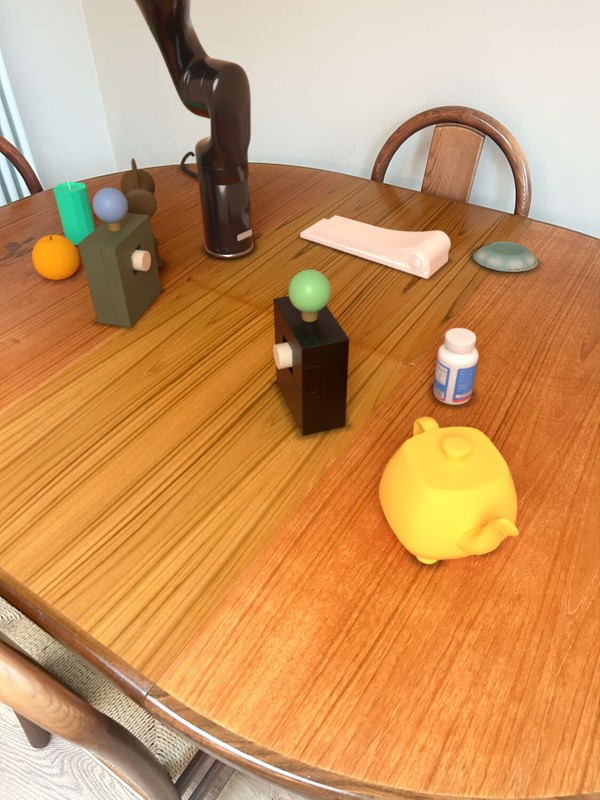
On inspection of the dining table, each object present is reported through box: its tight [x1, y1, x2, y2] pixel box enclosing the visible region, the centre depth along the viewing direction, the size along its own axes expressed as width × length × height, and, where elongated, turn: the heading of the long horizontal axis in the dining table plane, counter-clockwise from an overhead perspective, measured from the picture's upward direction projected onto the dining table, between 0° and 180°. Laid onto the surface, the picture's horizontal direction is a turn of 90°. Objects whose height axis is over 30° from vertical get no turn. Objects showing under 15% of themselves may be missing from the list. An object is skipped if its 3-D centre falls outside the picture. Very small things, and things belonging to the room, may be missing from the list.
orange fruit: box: [31, 234, 81, 281], centre depth 117 cm, size 8×8×8 cm
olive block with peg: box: [78, 186, 162, 328], centre depth 104 cm, size 6×12×20 cm, turn 165°
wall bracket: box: [300, 214, 451, 280], centre depth 124 cm, size 10×7×28 cm
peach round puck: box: [130, 250, 151, 271], centre depth 104 cm, size 2×3×3 cm
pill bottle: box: [432, 327, 479, 406], centre depth 89 cm, size 6×5×10 cm
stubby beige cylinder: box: [272, 342, 292, 369], centre depth 84 cm, size 2×3×3 cm
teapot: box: [378, 416, 520, 565], centre depth 69 cm, size 14×20×13 cm
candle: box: [53, 178, 96, 246], centre depth 127 cm, size 6×6×12 cm
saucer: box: [472, 240, 539, 273], centre depth 122 cm, size 12×12×2 cm
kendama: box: [120, 157, 165, 270], centre depth 115 cm, size 6×10×20 cm, turn 13°
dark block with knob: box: [272, 268, 350, 437], centre depth 84 cm, size 6×12×20 cm, turn 18°
